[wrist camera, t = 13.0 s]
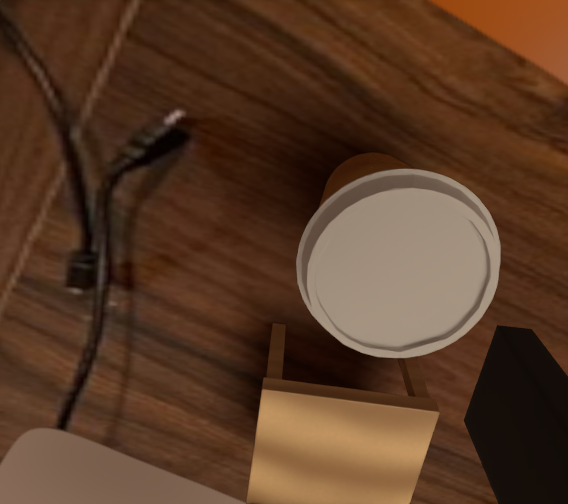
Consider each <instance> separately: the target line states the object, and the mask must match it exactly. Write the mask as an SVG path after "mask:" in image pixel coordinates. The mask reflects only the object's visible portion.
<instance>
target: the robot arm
mask: <svg viewBox="0 0 568 504" xmlns="http://www.w3.org/2000/svg"><path fill="white" fill-rule="evenodd" d="M464 422H465V425H466V427H467V429H468V432H469V434H470V436H471V439H472V441H473V444H474V446H475V448H476V451H477V453H478V456H479V458H480V460H481V463H482V465H483V468H484V470H485V472H486V475H487V477H488V480H489V482H490V484H491V487H492V489H493V492H494V494H495V496H496V499H497V501H498V504H568V376H567V375H566V374H565V372H564V371H563V370H562V368H561V367H560V366H559V364H558V363H557V362H556V361H555V359H554V358H553V357H552V355H551V354H550V353H549V351H548V350H547V349H546V347H545V346H544V345H543V344H542V342H541V341H540V340H539V338H538V337H537V336H536V334H535V333H534V332H533V330H532V329H525V328H516V327H507V326H498V325H497V328H496V331H495V333H494V336H493V339H492V342H491V345H490V348H489V350H488V353H487V356H486V359H485V362H484V365H483V367H482V370H481V373H480V376H479V379H478V382H477V384H476V387H475V390H474V393H473V396H472V399H471V401H470V404H469V407H468V410H467V413H466V416H465V418H464Z"/></svg>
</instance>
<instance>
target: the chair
mask: <svg viewBox="0 0 568 504" xmlns="http://www.w3.org/2000/svg"><path fill="white" fill-rule="evenodd" d="M285 329H286V325H285V324H278V323H273V325H272V332H271V341H270V349H269V358H268V367H267V376H266V378H265V377H264V378H263V384H262V392H261V399H260V406H259V414H258V421H257V428H256V435H255V443H254V450H253V457H252V465H251V472H250V479H249V486H248V494H247V501H246V504H410V501H411V498H412V495H413V491H414V488H415V485H416V482H417V479H418V476H419V473H420V470H421V467H422V464H423V461H424V458H425V455H426V452H427V449H428V446H429V443H430V440H431V437H432V434H433V431H434V428H435V425H436V422H437V419H438V416H439V413H440V412H439V409H438V406H437V403H436V401H435V400H434V399H430V396H429V393H428V390H427V387H426V385H425V382H424V379H423V376H422V373H421V370H420V367H419V364H418V361H417V358H416V356H414V357H409V358H398V361H399V365H400V368H401V372H402V375H403V379H404V382H405V386H406V389H407V393H408V396H404V395H396V394H389V393H381V392H373V391H365V390H358V389H350V388H342V387H335V386H327V385H319V384H311V383H304V382H296V381H288V380H282V373H283V358H284V344H285Z"/></svg>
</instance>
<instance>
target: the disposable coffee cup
mask: <svg viewBox="0 0 568 504" xmlns="http://www.w3.org/2000/svg"><path fill="white" fill-rule="evenodd" d="M296 265H297V280H298V286H299V289H300V292H301V295H302V298H303V300H304V302H305V304H306V305H307V307H308V309H309V311H310V312H311V314H312V315H313V316H314V317H315V319H316V320H317V321H318V322H319V323H320V324H321V325H322V326H323V327H324V328H325V329H326V330H327V331H328V332H330V333H331V334H332V335H333V336H334V337H335V338H337V339H338V340H339V341H340V342H341V343H342V344H344V345H346V346H348V347H350V348H352V349H355V350H357V351H359V352H361V353H364V354H368V355H372V356H376V357H387V358H409V357H414V356H419V355H425V354H428V353H431V352H433V351H436V350H439V349H442V348H444V347H445V346H447V345H449V344H451V343H453V342H455V341H456V340H458V339H459V338H460V337H462V336H463V335H464V334H466V333H467V332H468V331H469V330H470V329H471V328H472V327H473V326H474V325H475V324H476V323H477V322H478V321H479V320H480V319H481V317H482V316H483V314H484V313H485V311H486V309H487V308H488V306H489V304H490V303H491V301H492V299H493V296H494V293H495V290H496V287H497V284H498V275H499V266H500V241H499V237H498V232H497V228H496V226H495V224H494V222H493V219H492V217H491V215H490V213H489V211H488V210H487V209H486V207H485V206H484V205H483V204H482V202H481V201H480V200H479V199H478V197H477V196H475V195H474V194H473V193H472V192H471V191H470V190H468V189H467V188H466V187H464V186H463V185H461V184H459V183H458V182H456V181H454V180H453V179H451V178H449V177H447V176H444V175H440V174H437V173H434V172H430V171H426V170H420V169H415V168H413V167H411V166H409V165H407V164H405V163H403V162H401V161H399V160H398V159H396V158H394V157H392V156H390V155H386V154H382V153H374V152H371V153H364V154H359V155H356V156H354V157H351V158H349V159H347V160H346V161H344V162H343V163H341V164H340V165H339V166H338V167H337V168H336V169H335V170H334V171H333V173H332V174H331V175H330V177H329V179H328V181H327V183H326V186H325V189H324V193H323V196H322V199H321V202H320V205H319V208H318V210H317V211H316V213H315V214H314V215H313V217H312V218H311V219H310V220H309V222H308V224H307V226H306V228H305V231H304V233H303V235H302V238H301V241H300V244H299V249H298V254H297V260H296Z"/></svg>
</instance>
